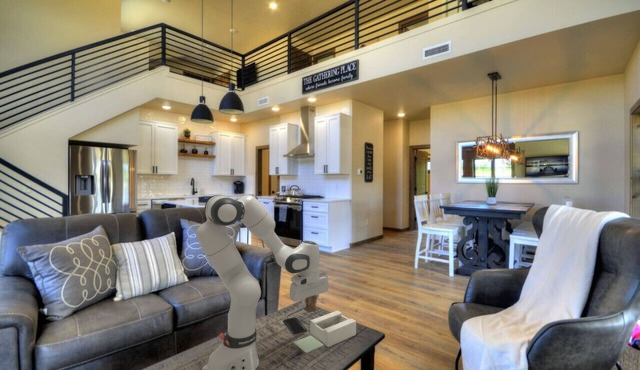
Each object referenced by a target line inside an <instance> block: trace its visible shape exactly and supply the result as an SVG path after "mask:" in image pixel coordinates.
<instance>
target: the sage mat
mask: <svg viewBox="0 0 640 370" xmlns="http://www.w3.org/2000/svg"><path fill="white" fill-rule="evenodd" d="M293 344H294V345H295V346H296V347H297V348H299V349H300V350H301V351H302V352H304V353H305V354H309V353H311V352H314V351H317V350H318V349H320V348H323V347H324V346H325V345H324V344H323V343H322V342H320V341H319V340H318V339H316V338H315V337H314V336H312V335H311V334H310V335H308V336H306V337H304V338H301V339H300V338H299V339H297V340H296V341H294V342H293Z"/></svg>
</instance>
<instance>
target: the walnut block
mask: <svg viewBox="0 0 640 370" xmlns="http://www.w3.org/2000/svg"><path fill="white" fill-rule="evenodd" d="M305 302H306V303H307V307H305V308H304V307H303V311H305V312H307V313H308V314H309V313H312V312H315V311H316V310H317V304H316V295H314V296H311V297H308V298H306V300H305Z"/></svg>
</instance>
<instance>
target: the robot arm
mask: <svg viewBox="0 0 640 370" xmlns="http://www.w3.org/2000/svg"><path fill="white" fill-rule="evenodd" d="M204 204H205V205H204V220H205V222H203V223H202V224H201V225H199V227H197V229H196V231H195V236H196V239H197V241H198V244H199V245H200V248H201V250H202V252H203V253H204V255H205V257H206V258H207V260H208V261H209V263H210V264H211V266H212V268H213V269H214V271H215V272H216V274H217V276H219V278H220V280H221V282H222V283H223V284H224V286H225V287H226V289H227V291H228V293H229V295H230V306H229V311H228V313H227V332H226V334H225V333H223V332H220V334H219V335H218V338H220V340H221V341H222V340H223V341H222V342H221V344H219V346H218V347H217V348H215V350H213V351H212V352H211V353H210V355H209V358H208V360H207V361H208V362H207V364H205V365H203V366H202V369H201V370H256V369H257V368H258V367H259V365H260V359H259V357H258V351H257V344H256V343H257V327H256V313H257V306H258V302H259V300H260V298H261V297H262V296H261V295H262V289H261V286H260V284H259V281H258V280H257V279H256V278H255V277H254V276H253V274H252V273H251V272H250V270H249V269H248V267H247V265H246V264H245V262H244V260H243V258H242V256H241V254H240V252H239V250H238V248H237V247H236V245H235V244H234V242H233V240H232V239H231V237H230V235H229V234H228V232H227V228H226V227H227V226H232V225H233V224H235V223H237V222H239V221H240V222H241V223H242V224H243V226H245V227H246V228H247V230H249V232H250V233H251V234H252V235H254V237H256V238H257V239H260V240H262V241H263V242H264V244H265V245H266V247H268V248H269V250H270V251H271V253H272V256H273V260H274V262H275V264H276V265H278V266H279V267H280V268H282V269H283V270H285V271H286V272H288V273H290V274H292V276H291V277H290V281H291V284H290V285H289V299H290V300H292V302H298V301H301V302H302V307H303V309H304V308H305V307H307V303H306V302H305V300H306V298H308V297H311V296H314V295H316V305H317V304H318V299H319V296H320V294H324V293H326V292H328V291H329V286H330V285H329V281H328V276H329V275H328V273H326V272H324V271H323V272H320V270H321V269H320V261H321V259H320V247H319V244H318V243H317V242H315V241H312V240H303V241H302V242H301V243H300V244H299V245H298V246H297V247H295V248H293V247H291V246H290V245H288V244H285V243H283V241H282V240H281V239H280V237H279V236H278V235H277V233H276V232H275V228H276V221H275V220H274V218H273V216H272V214H271V213H270V212H269V211H268V209H267V208H266V207H265V206H264V205H263V203H261V202H260V200H258V199H257V198H256V197H255V196H253V195H251V194H246V195H243V196H241V197H239V198H238V199H237V200H236V199H233V198H231V197H229V196H227V195H222V194H214V195H212V196H211V197H209V198H208V199H207V200H206V202H205V203H204ZM293 274H294V275H293Z"/></svg>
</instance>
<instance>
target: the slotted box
mask: <svg viewBox="0 0 640 370" xmlns="http://www.w3.org/2000/svg"><path fill="white" fill-rule="evenodd" d="M309 323H310V324H309V325H310V328H309V330H310V331H309V334H310V335H311V336H313V337H314V338H315V339H317V340H318V341H319V342H321V343H322V344H324V346H326V347H327V348H329V347H332V346H334V345H336V344H339V343H341V342H344V341H346V340H348V339H349V338H352V337H353V336H356V335H357V320H355V319H353V318H348V317H346V316H345V315H343V313H342V312H341V311H339V310H335V311H333V312H329V313H327V314H325V315H322V316H318V317H316V318H313V319H311V320H310V321H309Z"/></svg>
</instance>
